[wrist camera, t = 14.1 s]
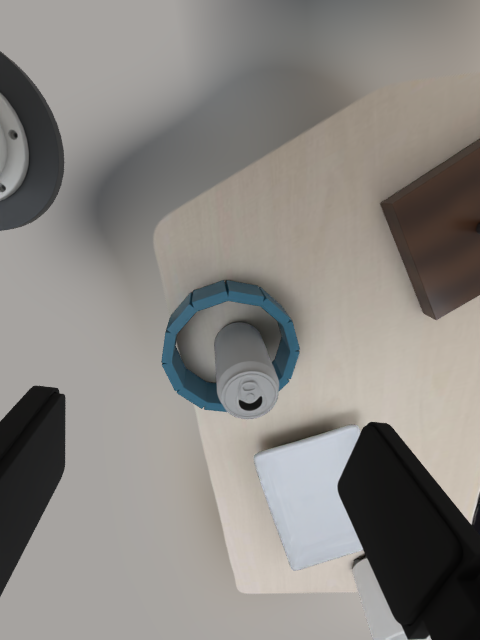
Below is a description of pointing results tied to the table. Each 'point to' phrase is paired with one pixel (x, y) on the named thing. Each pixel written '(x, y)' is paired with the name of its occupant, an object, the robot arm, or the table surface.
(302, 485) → the tray
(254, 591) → the table surface
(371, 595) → the cup
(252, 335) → the beverage can
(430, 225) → the platform
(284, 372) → the ring
